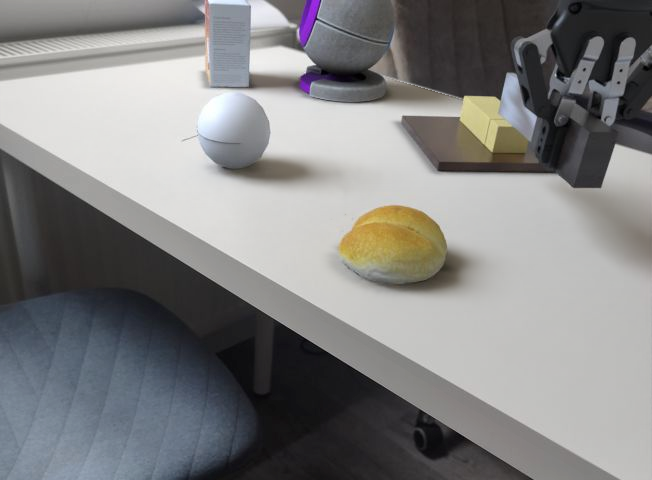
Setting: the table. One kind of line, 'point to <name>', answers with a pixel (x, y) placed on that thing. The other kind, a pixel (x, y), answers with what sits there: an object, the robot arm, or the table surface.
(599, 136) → the knife
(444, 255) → the bread roll
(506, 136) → the butter pat
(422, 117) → the board
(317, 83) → the webcam
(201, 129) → the seamed sphere
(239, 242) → the table surface
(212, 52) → the small box
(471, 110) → the butter
